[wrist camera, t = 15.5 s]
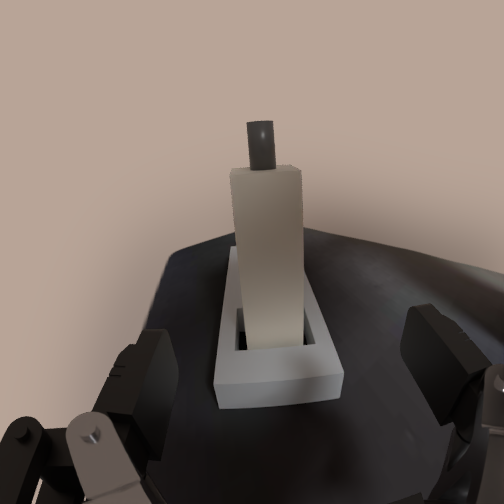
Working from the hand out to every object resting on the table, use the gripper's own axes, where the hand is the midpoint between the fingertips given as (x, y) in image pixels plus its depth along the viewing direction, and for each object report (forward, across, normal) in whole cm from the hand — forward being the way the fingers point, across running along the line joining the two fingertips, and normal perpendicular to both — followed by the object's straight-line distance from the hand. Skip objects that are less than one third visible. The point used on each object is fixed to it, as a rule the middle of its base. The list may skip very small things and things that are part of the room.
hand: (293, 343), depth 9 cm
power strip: (+20, 0, +10) cm, 22 cm away
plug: (+11, 0, +10) cm, 15 cm away
